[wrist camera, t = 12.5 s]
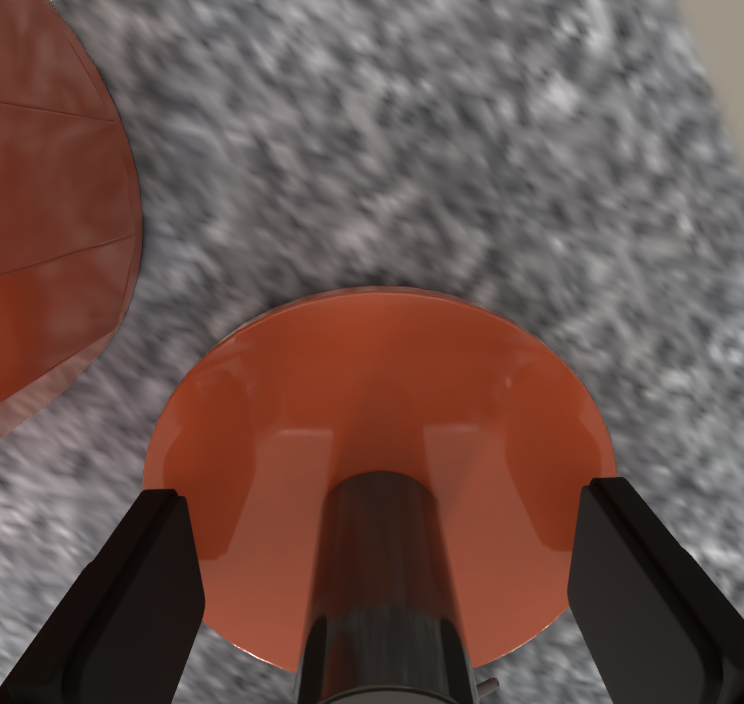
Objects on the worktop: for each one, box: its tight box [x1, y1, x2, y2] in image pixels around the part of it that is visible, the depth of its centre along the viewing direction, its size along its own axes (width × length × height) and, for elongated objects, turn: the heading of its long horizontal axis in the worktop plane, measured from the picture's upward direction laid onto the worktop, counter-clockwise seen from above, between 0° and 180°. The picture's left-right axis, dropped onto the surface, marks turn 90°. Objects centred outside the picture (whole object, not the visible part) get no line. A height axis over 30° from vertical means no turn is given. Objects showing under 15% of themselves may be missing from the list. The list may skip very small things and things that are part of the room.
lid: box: [143, 285, 617, 704], centre depth 9 cm, size 10×10×6 cm
